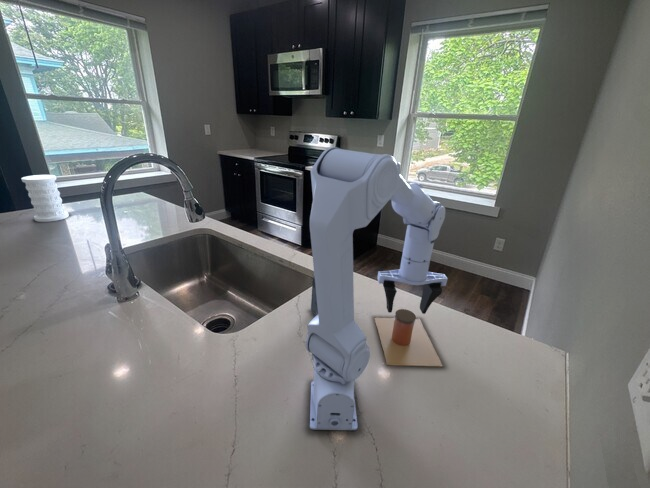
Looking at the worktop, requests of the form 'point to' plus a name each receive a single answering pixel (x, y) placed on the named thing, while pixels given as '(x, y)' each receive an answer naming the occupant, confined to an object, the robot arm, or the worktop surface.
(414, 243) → the robot arm
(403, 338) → the spice jar
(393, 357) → the kraft paper
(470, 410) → the worktop surface
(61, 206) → the decorative container
